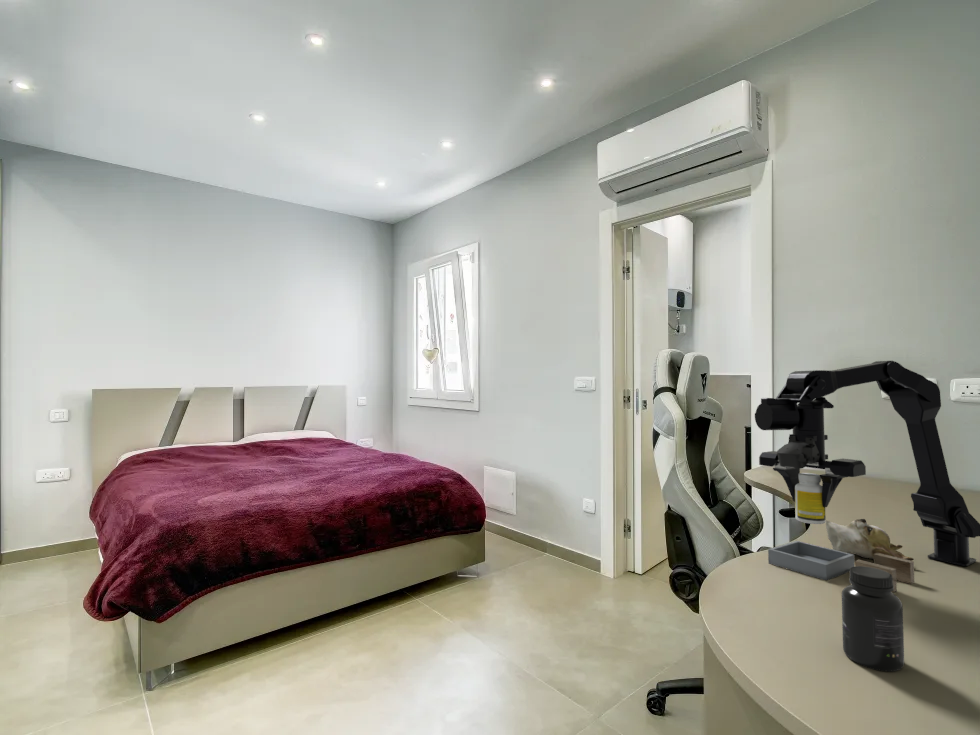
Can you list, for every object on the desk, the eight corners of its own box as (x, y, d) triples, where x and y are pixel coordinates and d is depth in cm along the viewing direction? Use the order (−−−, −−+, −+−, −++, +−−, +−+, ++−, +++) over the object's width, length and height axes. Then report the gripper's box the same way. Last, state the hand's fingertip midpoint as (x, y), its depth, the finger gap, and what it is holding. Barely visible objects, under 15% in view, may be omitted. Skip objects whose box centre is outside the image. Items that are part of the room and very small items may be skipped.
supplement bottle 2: (831, 648, 73) (828, 563, 74) (875, 645, 74) (872, 562, 74) (870, 674, 67) (867, 581, 67) (918, 672, 67) (915, 580, 68)
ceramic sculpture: (823, 508, 121) (902, 519, 114) (821, 544, 121) (900, 558, 114) (828, 519, 111) (916, 532, 105) (827, 558, 111) (913, 574, 105)
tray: (797, 554, 114) (796, 540, 115) (854, 569, 105) (854, 554, 105) (768, 563, 109) (768, 549, 109) (826, 580, 99) (826, 564, 99)
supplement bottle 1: (830, 525, 104) (829, 477, 104) (801, 524, 105) (800, 476, 105) (819, 518, 109) (817, 472, 109) (791, 517, 110) (790, 471, 110)
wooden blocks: (877, 572, 103) (877, 552, 103) (914, 582, 98) (913, 561, 98) (855, 582, 98) (855, 561, 98) (892, 592, 93) (892, 570, 93)
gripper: (743, 428, 111) (745, 500, 111) (838, 435, 95) (840, 519, 95) (772, 426, 117) (773, 494, 117) (865, 432, 101) (868, 511, 101)
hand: (810, 504), depth 107 cm, fingers closed on supplement bottle 1, 5 cm apart
